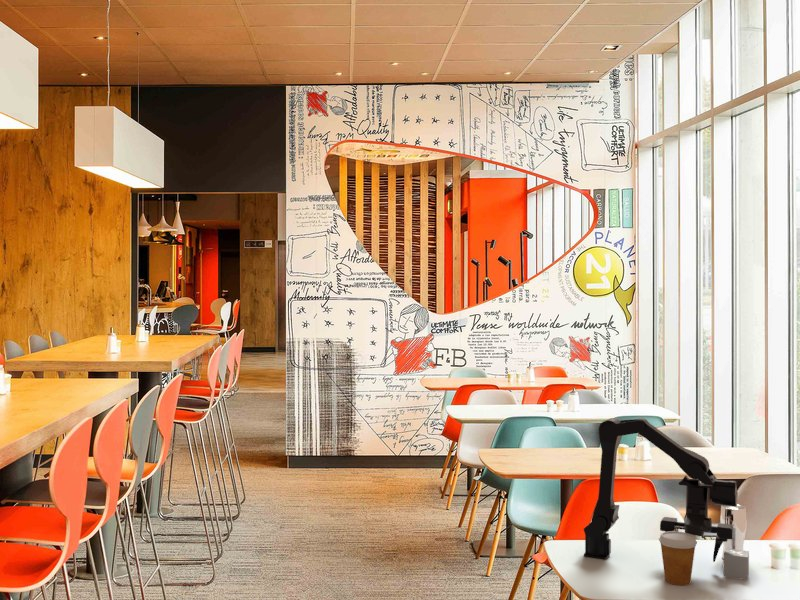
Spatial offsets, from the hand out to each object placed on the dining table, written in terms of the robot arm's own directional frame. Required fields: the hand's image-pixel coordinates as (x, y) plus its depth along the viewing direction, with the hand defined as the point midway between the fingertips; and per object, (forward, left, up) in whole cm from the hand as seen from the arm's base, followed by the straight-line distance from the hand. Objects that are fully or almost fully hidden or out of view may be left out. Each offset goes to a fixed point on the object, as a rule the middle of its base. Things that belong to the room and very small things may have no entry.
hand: (696, 559), depth 227 cm
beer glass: (+9, +15, -3) cm, 18 cm away
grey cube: (+10, 0, -3) cm, 11 cm away
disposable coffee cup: (-3, -13, -3) cm, 14 cm away
